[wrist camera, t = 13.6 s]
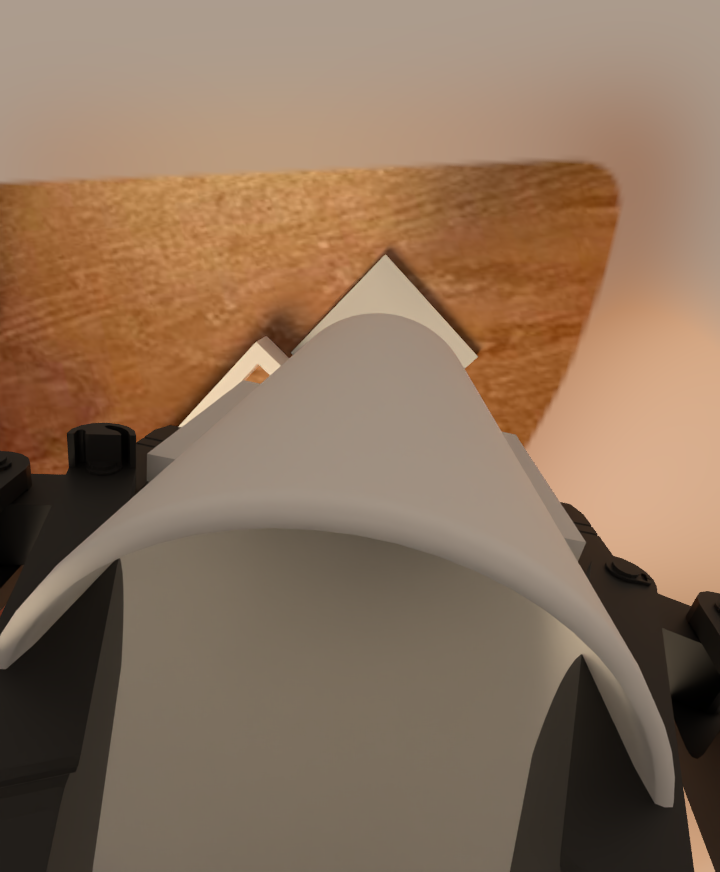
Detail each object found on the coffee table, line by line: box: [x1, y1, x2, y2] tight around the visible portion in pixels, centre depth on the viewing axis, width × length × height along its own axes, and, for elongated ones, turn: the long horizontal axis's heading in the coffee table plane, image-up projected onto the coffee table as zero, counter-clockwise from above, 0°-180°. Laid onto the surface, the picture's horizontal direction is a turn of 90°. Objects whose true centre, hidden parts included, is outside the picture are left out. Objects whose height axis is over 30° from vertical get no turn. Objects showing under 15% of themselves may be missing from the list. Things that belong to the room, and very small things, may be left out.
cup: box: [0, 313, 675, 872], centre depth 13 cm, size 8×8×16 cm
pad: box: [291, 254, 478, 369], centre depth 31 cm, size 9×9×1 cm
